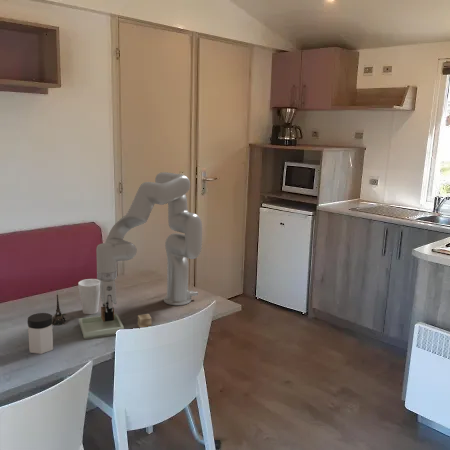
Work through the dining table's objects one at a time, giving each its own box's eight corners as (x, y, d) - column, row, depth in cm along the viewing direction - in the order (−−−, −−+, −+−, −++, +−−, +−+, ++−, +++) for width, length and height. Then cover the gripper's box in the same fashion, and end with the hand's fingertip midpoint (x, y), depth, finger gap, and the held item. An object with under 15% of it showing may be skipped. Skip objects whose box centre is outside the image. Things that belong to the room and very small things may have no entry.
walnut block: (112, 315, 195) (112, 305, 194) (114, 320, 191) (114, 309, 190) (101, 317, 193) (100, 306, 192) (102, 321, 189) (102, 311, 188)
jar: (47, 340, 178) (45, 310, 175) (59, 347, 173) (57, 316, 170) (23, 348, 171) (21, 317, 168) (35, 356, 166) (33, 324, 163)
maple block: (148, 324, 195) (148, 313, 194) (151, 328, 191) (151, 318, 190) (137, 325, 194) (137, 315, 193) (140, 330, 190) (140, 319, 189)
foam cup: (95, 316, 201) (94, 287, 198) (75, 314, 202) (74, 285, 200) (105, 308, 210) (104, 280, 207) (85, 306, 211) (85, 278, 209)
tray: (117, 319, 198) (117, 313, 198) (123, 333, 186) (123, 327, 185) (79, 324, 192) (79, 318, 192) (83, 339, 180) (83, 332, 179)
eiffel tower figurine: (64, 314, 204) (63, 284, 201) (81, 319, 198) (80, 289, 196) (34, 326, 191) (32, 294, 188) (51, 332, 186) (49, 300, 183)
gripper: (120, 280, 182) (121, 325, 186) (112, 267, 197) (113, 309, 201) (100, 282, 179) (101, 328, 183) (93, 269, 194) (95, 311, 198)
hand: (107, 317), depth 192 cm, fingers closed on walnut block, 4 cm apart
